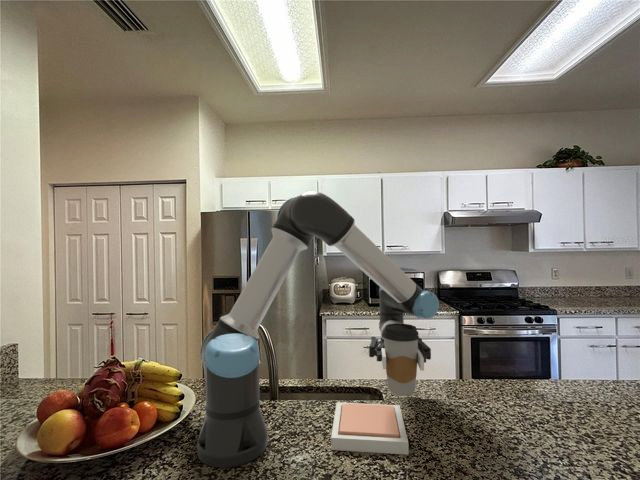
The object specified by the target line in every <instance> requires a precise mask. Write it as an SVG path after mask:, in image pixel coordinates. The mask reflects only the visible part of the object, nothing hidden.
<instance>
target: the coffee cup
mask: <svg viewBox="0 0 640 480" xmlns="http://www.w3.org/2000/svg"><path fill="white" fill-rule="evenodd" d="M383 337H384V344H385V354H386V369H385V374H386V379H387V380H386V382H387V388H388V390H389V392H390V393H391V394H394V395H395V396H396V395H397V396H401V397H405V396H406V397H407V396H411V395H413V394H414V393H415V391H416V385H417V384H416V383H417V375H418V373H417V371H418V370H417V369H418V364H417V349H418V339H419V338H420V336H419V332H418V330H417V327H416V326H415V325H412V324H408V323H404V324H388V325H386V326H385V330H384V334H383Z"/></svg>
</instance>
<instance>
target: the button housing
mask: <svg viewBox="0 0 640 480" xmlns="http://www.w3.org/2000/svg"><path fill="white" fill-rule="evenodd" d="M335 403H336V404H335V410H334V417H333V424H332V429H331V437H330V450H331V451H342V452H344V451H345V452H357V453H359V452H360V453H377V454H389V455H390V454H393V455H394V454H395V455H410V454H409V440H408V435H407V431H406V427H405V422H404V418H403V415H402V414H403V413H402V410H401V406H400V404H388V405H389V406H394V411H395V416H396V421H397V426H398V431H399V438H391V437H373V436H356V435H339V430H340V421H341V413H342V405H343V403H345V404H362V403H360V402H358V403H357V402H356V403H355V402H339V401H338V402H335ZM366 404H367V405H385V404H381V403H380V404H379V403H377V404H376V403H366Z"/></svg>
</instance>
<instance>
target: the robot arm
mask: <svg viewBox="0 0 640 480" xmlns="http://www.w3.org/2000/svg"><path fill="white" fill-rule="evenodd" d="M355 222H356V220H355V218H354V217H353V216H352V215H351V214H350V213H348V211H347V210H345V208H343V206H341V205H340V204H338V202H336V201H335V200H334V199H332V198H331V197H329V196H328V195H327V194H324V193H322V192H318V191H307V192H303V193H301V194H300V195H298V196H295V197H294V196H293V197H291V198H289V199H288V200H286V201H285V202H284V203H283V204H282V205H281V206H280V208H279V209H278V212H277V216H276V220H275V222H274V224H273V226H272V228H271V235H272V238H271V240H270V242H269V243H268V245H267V247H266V248H265V250H264V252H263V254H262V256H261V257H260V259H259V260H258V262H257V264H256V266H255V268H254V270H253V272H252V273H251V275H250V277H249V279H248V280H247V282H246V284H245V286H244V287H243V289H242V291H241V293H240V294H239V296H238V298H237V299H236V301H235V303H234V305H233V306H232V308H231V310H230V312H229V313H228V314H226V315H223V316H221V317H219V320H218V321H217V322H216V325H215V326H214V328H213V329H211V330H210V331H209V332H208V333H207V334H206V335H205V337H204V339H203V341H202V344H201V347H200V359H201V362H202V363H201V364H202V367H203V370H204V372H203V373H204V380H205V381H204V383H205V416H204V418H203V419H204V420H203V422H202V426H201V427H200V428H201V429H200V432H199V436H198V438H197V444H196V446H197V447H196V448H197V452H196V453H197V458H198V459H199V460H200V462H202V463H203V464H205V465H207V466H210V467H214V468H219V469H220V468H222V469H223V468H224V469H225V468H234V467H238V466H241V465H246V464H248V463H249V462H252V461H253V460H255V459H257V458H259V457H260V456H261V454H263V453H264V452H265V450H266V448H267V446H268V443H269V441H268V440H269V438H268V436H269V435H268V434H269V433H268V428H267V425H266V423H265V420H264V416H263V414H262V410H261V407H260V359H261V356H260V355H261V353H260V350H259V349H260V347H259V343H258V340H259V339H260V333H259V330H258V329H259V327H260V325H261V324H262V321H263V320H264V318H265V316H266V314H267V313H268V311H269V308H270V306H271V304H272V303H273V301H274V299H275V297H276V296H277V294H278V292H279V290H280V288H281V287H282V284H283V282H284V281H285V279H286V277H287V275H288V273H289V271H291V268H292V266H293V264H294V262H295V261H296V259H297V257H298V255H299V254H300V252H302V251H305V250H307V249H308V248H309V247H310V244H311V243H312V240H313V239H314V237H315V238H318V239H320V240H321V241H322V242H324V243H325V244H326V245H327V246H328V247H335V248H337V249H338V251H339V252H340V253H342V254H343V255H344V257H346V258H347V259H348V260H349V261H351V262H352V263H353V264H354V265H355V266H356V267H357V268H358V269H359V270H361V271H362V272H363V273H364V274H365V275H366V276H367V277H368V278H370V279H371V280H372V281H373V282H374V283H375V284H376V285H377V286H379V289H378V295H379V324H378V327H379V328H378V329H379V332H380V339H379V338H378V337H375V336H371V339H370V341H371V342H370V344H369V345H368V356H369V358H375V357H376V362H381V366H382V370H386V354H385V344H384V337H383V334H384V330H385V326H386V325H388V324H405V322H404V321H405V319H404V316H405V315H404V314H407V315H409V316H413V317H415V318H418V319H427V320H428V319H432V318H433V317H435V316H436V314H437V313H438V311H439V308H440V301H439V299H438V296H437V295H436V294H435V293H434V292H431V291H429V290H424V289H422V288H421V287H420V286H419V284H417V283H416V282H415V281H414V280H413V279H411V277H409V276H408V275H407V274H406V273H405V272H404V271H403V270H402V269H401V268H400V267H399V266H398V265H397V264H396V262H394V261H393V260H392V259H391V258H390V257H389V256H387V254H385V252H383V251H382V250H381V249H380V247H378V246H377V244H375V243H374V242H373V240H371V239H370V238H369V237H368V236H367V235H366V234H365V233H364V232H362V230H361V229H360V228H358V227H357V225H355ZM427 360H432V349H431V347H429V346H428V345H427V344H426V343H425V342H424V341H423V338H421V337H419V339H418V349H417V367H418V368H419V369H420V371H421V372H422V371H425V363H427Z"/></svg>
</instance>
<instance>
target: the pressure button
mask: <svg viewBox="0 0 640 480" xmlns="http://www.w3.org/2000/svg"><path fill="white" fill-rule="evenodd" d="M342 403H343V405H342V413H341V421H340V430H339V435H356V436H373V437H391V438H399V431H398V426H397V421H396V416H395V411H394V406H389V405H390V404H384V405H367V404H368V403H361V404H345V403H346V402H342Z"/></svg>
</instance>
